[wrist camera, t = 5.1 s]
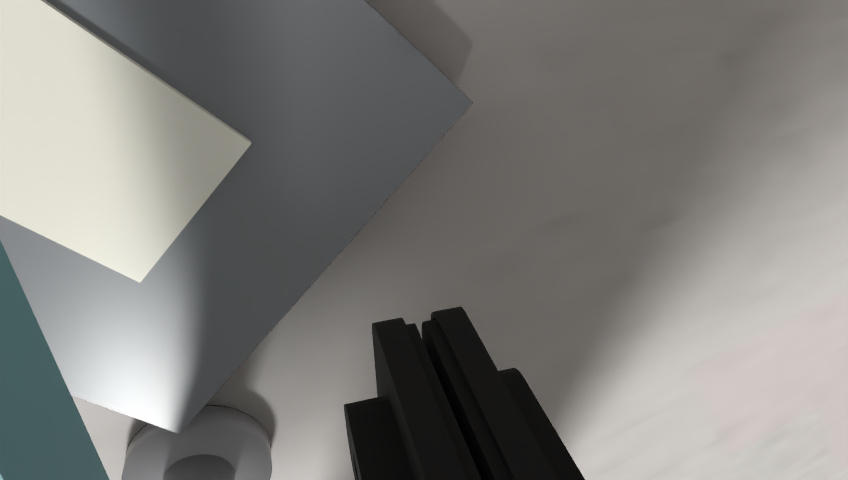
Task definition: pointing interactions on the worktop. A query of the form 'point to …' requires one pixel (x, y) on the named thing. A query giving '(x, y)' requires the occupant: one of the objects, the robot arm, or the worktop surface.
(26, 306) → the swing bar
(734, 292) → the worktop surface
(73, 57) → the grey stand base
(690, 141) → the worktop surface
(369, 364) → the worktop surface
